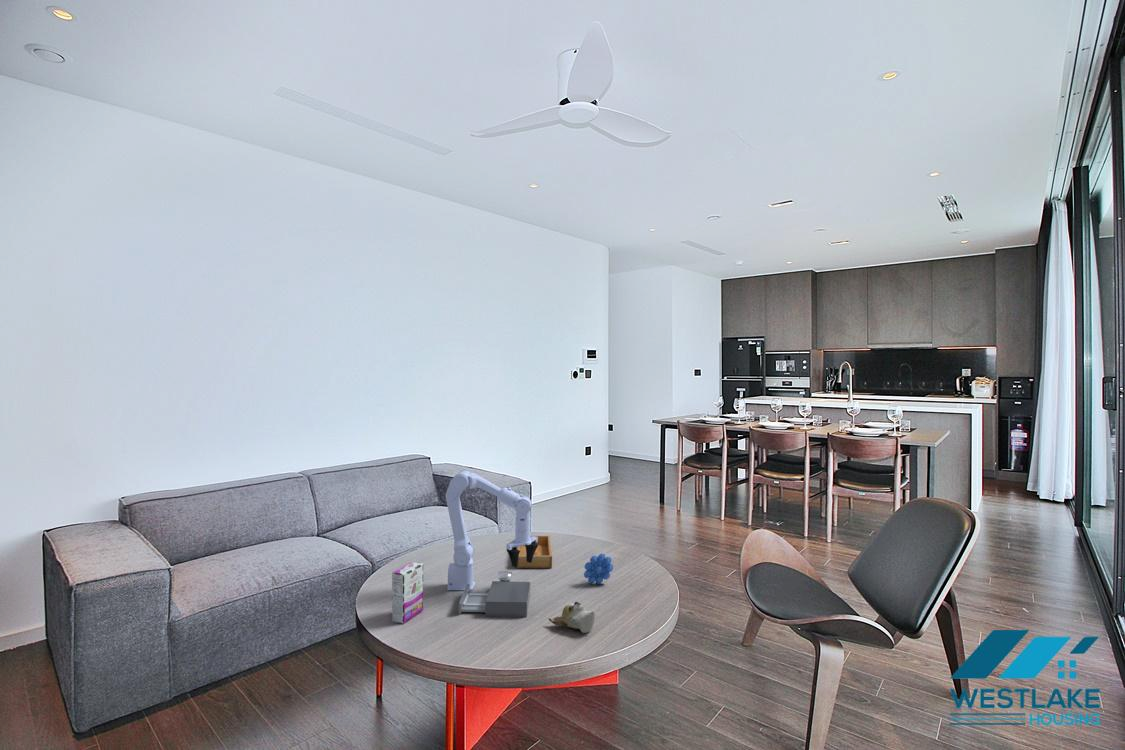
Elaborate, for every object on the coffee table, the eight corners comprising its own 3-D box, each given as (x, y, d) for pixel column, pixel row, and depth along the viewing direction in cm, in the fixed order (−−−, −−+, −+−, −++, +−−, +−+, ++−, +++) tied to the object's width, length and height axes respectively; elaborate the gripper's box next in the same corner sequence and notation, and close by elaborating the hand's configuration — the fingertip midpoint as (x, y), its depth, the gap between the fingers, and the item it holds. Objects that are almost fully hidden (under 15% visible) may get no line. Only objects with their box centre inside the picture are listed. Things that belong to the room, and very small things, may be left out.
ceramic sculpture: (584, 612, 169) (546, 601, 178) (584, 640, 168) (547, 628, 177) (603, 601, 177) (566, 592, 186) (603, 628, 177) (567, 618, 186)
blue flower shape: (611, 579, 219) (611, 549, 219) (614, 586, 212) (614, 555, 212) (582, 580, 218) (582, 550, 218) (584, 586, 211) (584, 555, 211)
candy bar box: (411, 608, 189) (412, 561, 189) (423, 610, 188) (424, 563, 187) (390, 622, 179) (391, 572, 179) (403, 624, 177) (404, 574, 177)
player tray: (458, 613, 184) (458, 603, 184) (467, 593, 202) (467, 583, 202) (497, 614, 184) (498, 604, 184) (503, 593, 202) (503, 584, 202)
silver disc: (497, 580, 205) (497, 575, 205) (498, 575, 211) (498, 570, 211) (511, 580, 205) (511, 576, 205) (512, 575, 211) (512, 570, 211)
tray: (517, 546, 260) (518, 534, 260) (549, 546, 261) (549, 534, 261) (515, 569, 229) (516, 556, 229) (551, 569, 230) (552, 556, 230)
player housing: (485, 616, 184) (485, 601, 184) (492, 594, 202) (492, 581, 202) (526, 617, 184) (527, 602, 184) (530, 595, 202) (530, 581, 202)
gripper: (515, 535, 200) (514, 571, 201) (543, 527, 211) (542, 562, 211) (503, 530, 205) (502, 566, 205) (531, 523, 216) (530, 558, 216)
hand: (521, 564), depth 209 cm, fingers open, 7 cm apart
